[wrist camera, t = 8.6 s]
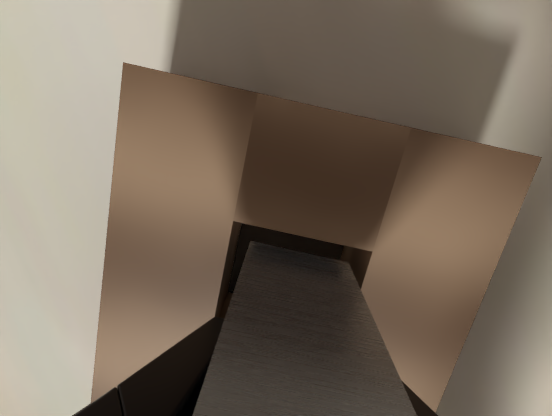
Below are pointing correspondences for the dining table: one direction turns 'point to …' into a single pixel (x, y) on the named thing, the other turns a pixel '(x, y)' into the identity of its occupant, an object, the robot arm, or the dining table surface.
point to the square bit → (299, 344)
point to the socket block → (295, 218)
